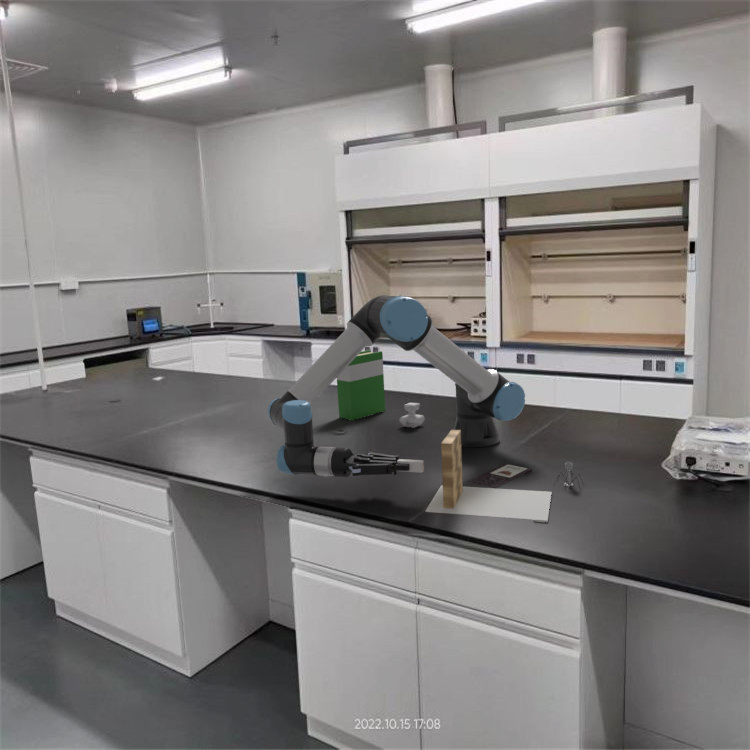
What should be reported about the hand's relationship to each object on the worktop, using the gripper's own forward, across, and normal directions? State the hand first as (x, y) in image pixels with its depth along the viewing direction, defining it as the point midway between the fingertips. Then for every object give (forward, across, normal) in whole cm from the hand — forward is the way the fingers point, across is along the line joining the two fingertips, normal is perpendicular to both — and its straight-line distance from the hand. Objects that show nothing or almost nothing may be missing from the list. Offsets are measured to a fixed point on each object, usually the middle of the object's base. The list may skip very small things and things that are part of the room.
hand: (423, 466), depth 160 cm
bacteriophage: (+34, -16, -9) cm, 39 cm away
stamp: (-21, -67, -9) cm, 71 cm away
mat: (+16, 0, -8) cm, 18 cm away
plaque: (+7, 0, -8) cm, 11 cm away
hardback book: (-45, -82, -9) cm, 94 cm away
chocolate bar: (+16, -19, -9) cm, 27 cm away
